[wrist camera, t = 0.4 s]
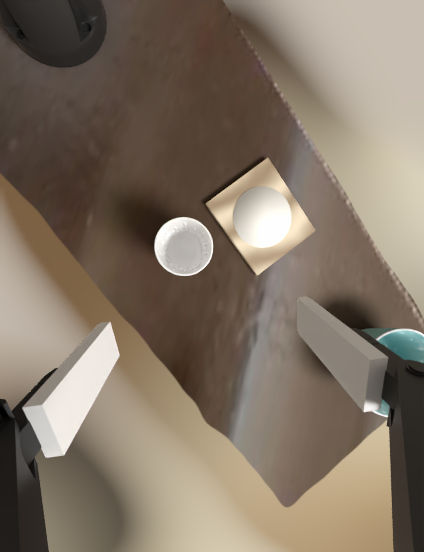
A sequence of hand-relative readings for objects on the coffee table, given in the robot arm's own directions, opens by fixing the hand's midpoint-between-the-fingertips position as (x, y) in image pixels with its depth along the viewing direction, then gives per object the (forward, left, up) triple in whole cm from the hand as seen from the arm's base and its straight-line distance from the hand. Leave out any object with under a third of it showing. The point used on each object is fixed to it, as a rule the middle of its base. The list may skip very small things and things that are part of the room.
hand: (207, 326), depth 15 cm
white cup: (-7, 0, -25) cm, 26 cm away
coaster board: (-10, +15, -24) cm, 30 cm away
